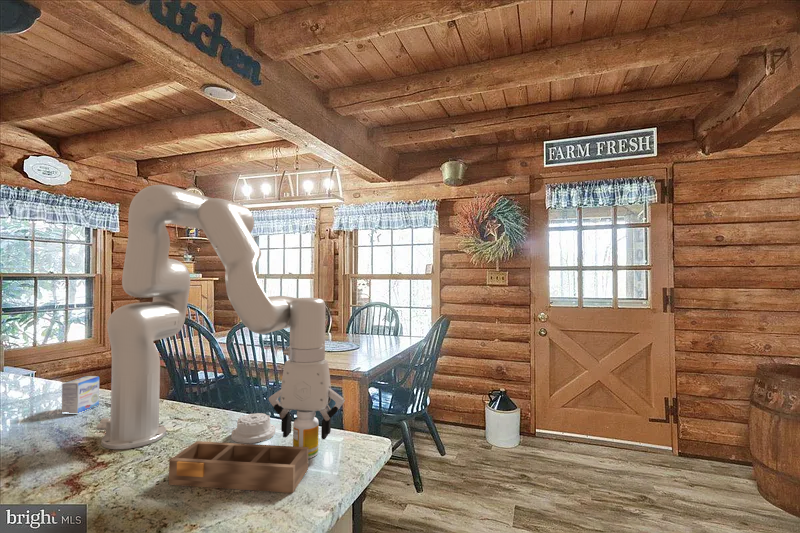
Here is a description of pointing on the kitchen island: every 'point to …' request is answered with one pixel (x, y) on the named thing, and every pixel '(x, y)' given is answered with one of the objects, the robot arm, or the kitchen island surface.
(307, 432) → the supplement bottle
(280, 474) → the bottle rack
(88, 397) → the medicine box
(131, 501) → the kitchen island surface
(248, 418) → the mechanical component
